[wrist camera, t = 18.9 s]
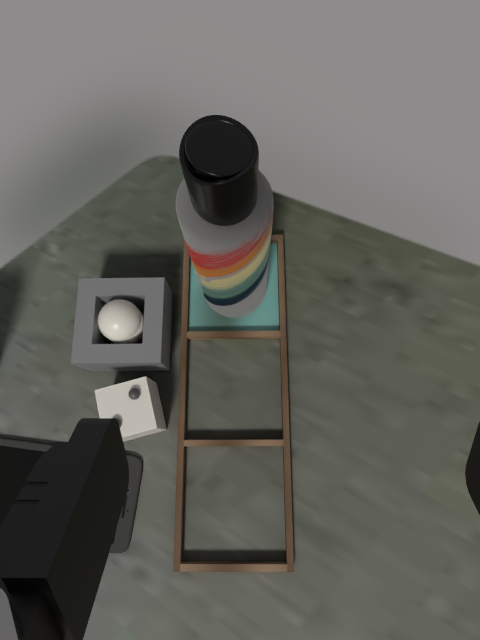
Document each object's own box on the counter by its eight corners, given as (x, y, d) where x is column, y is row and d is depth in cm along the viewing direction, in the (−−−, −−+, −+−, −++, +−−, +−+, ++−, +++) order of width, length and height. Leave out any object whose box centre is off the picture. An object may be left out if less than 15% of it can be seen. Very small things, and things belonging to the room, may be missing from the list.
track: (282, 238, 41) (283, 234, 40) (293, 568, 34) (293, 571, 33) (185, 239, 41) (184, 235, 41) (175, 568, 34) (173, 571, 33)
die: (156, 383, 38) (144, 375, 34) (166, 429, 37) (155, 427, 33) (110, 395, 38) (92, 389, 33) (119, 442, 37) (101, 442, 32)
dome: (150, 310, 39) (136, 293, 34) (148, 348, 38) (134, 335, 34) (111, 311, 39) (93, 293, 35) (108, 349, 38) (89, 336, 34)
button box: (172, 293, 40) (164, 277, 36) (169, 370, 38) (160, 362, 34) (95, 294, 40) (79, 278, 36) (89, 371, 38) (70, 363, 35)
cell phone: (-16, 435, 38) (-21, 435, 37) (146, 456, 37) (144, 456, 36) (-41, 529, 36) (-47, 531, 35) (129, 553, 35) (127, 556, 34)
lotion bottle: (193, 274, 40) (138, 118, 21) (250, 249, 41) (248, 76, 22) (218, 329, 39) (184, 217, 20) (277, 303, 39) (300, 169, 20)
